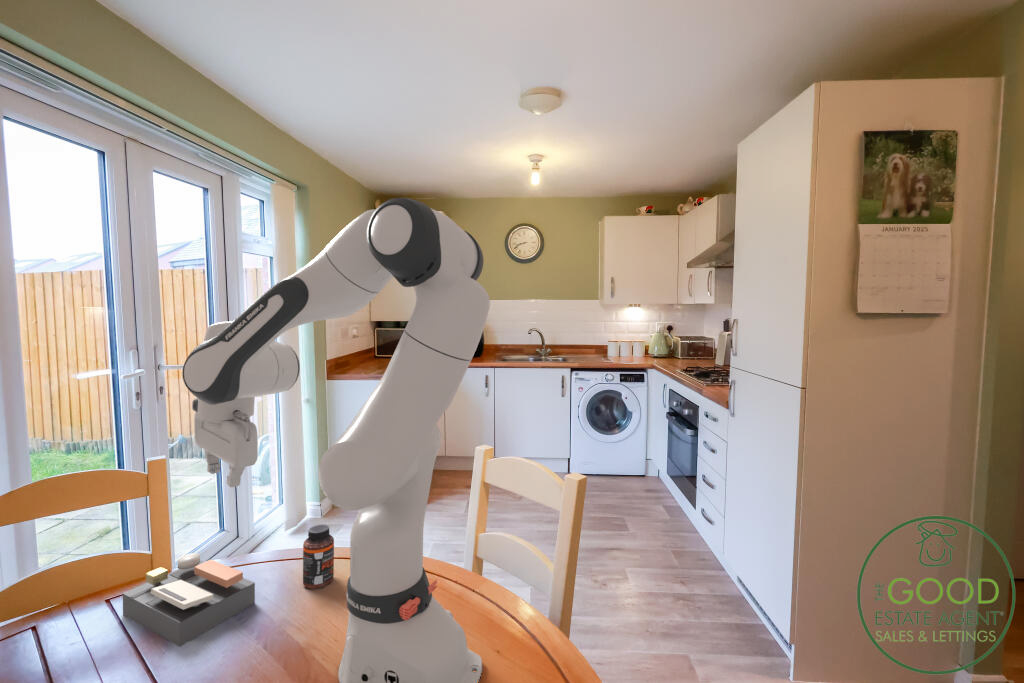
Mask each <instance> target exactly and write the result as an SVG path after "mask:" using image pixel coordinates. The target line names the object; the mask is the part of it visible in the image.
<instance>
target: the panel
mask: <svg viewBox="0 0 1024 683" xmlns="http://www.w3.org/2000/svg"><path fill="white" fill-rule="evenodd" d="M204 562H205V561H203V560H200V563H199V564H202V563H204ZM199 564H198V565H199ZM178 580H183V581H185V582H187V583H189V584H192V585H194V586H196V587H198V588H201V589H203V590H205V591H207V592H209V593H212V594H213V599H212V600H209V601H206V602H203V603H200V606H197V607H193V606H192V607H189V608H186V609H184V610H183V609H181V608H179V607H177V606H175V605H173V604H171V603H169V602H167V601H165V600H163V599H161V598H159V597H157V596H155V595H153V594H151V589H152V588H155V587H159V586H162V585H165V584H168V583H172V582H175V581H178ZM255 588H256V583H255V582H254V581H252V580H250V579H247V578H244V577H243V580H241V581H239V582H237V583H235V584H233V585H231V586H229V587H227V588H226V587H223V586H221V585H219V584H216V583H214V582H212V581H209V580H207V579H205V578H202V577H200V576H198V575H195V574H194V567H193V568H189V569H183V570H182V569H178V568H177V569H176V570H172V571H171V572H168V579H166V580H163V581H161V584H160V585H158V586H154V585H152V584H150V583H148V582H145V583H143V584H141V585H139V586H136V587H134V588H132V589H130V590H128V591H125V592H123V593H122V616H124V617H126V618H127V619H129V620H131V621H133V622H134V623H136V624H139V625H140V626H141V627H143V628H145V629H147V630H149V631H151V632H152V633H154V634H157V635H158V636H160V637H162V638H164V640H165V639H166V640H167V641H169V642H171V643H172V644H174V645H175V646H178V647H182V646H184V645H185V644H186V643H188V642H190V641H192V640H194V639H196V638H197V637H199V636H200V635H203V634H204V633H206V632H207V631H210V630H211V629H212V628H215V627H216V626H218V625H220V624H221V623H224V622H225V621H226V620H228V619H230V618H232V617H233V616H235V615H237V614H239V613H240V612H242V611H244V610H246V609H247V608H249V607H251V606H252V605H254V604H255V603H256V600H255V599H256V592H255V591H256V589H255Z"/></svg>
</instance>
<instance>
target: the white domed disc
mask: <svg viewBox="0 0 1024 683" xmlns="http://www.w3.org/2000/svg"><path fill="white" fill-rule="evenodd" d="M200 561H201V554H200V553H198V552H191V553H187V554H184V555H182V556H180V557H179V558H177V570H178V569H182V570H183V569H189V568H193V567H195V566H197V565H198V564H199V563H200Z"/></svg>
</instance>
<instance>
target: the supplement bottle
mask: <svg viewBox="0 0 1024 683" xmlns="http://www.w3.org/2000/svg"><path fill="white" fill-rule="evenodd" d="M307 534H308V535H307V536H308V537H307V538H306V539H305V540H304V541H303V545H302V546H303V547H302V549H303V550H302V585H303V586H304V587H305V588H307V589H313V590H314V589H320V588H321V589H322V588H324V587H326V586H327V585H329V584H331V583H332V582H333V579H334V574H335V573H334V568H335V565H334V564H335V563H334V562H335V561H334V560H335V556H334V555H335V539H334V537H333V536H332V535H331V534H330V526H329V525H327V524H316V525H313V526H311V527H310V528H309V529H308V533H307Z"/></svg>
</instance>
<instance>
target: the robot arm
mask: <svg viewBox="0 0 1024 683" xmlns="http://www.w3.org/2000/svg"><path fill="white" fill-rule="evenodd" d="M483 268H484V255H483V252H482V249H481V246H480V244H479V242H478V241H477V240H476V238H474V237H473V236H472V234H470V233H469V232H467V231H466V230H465V229H462V227H460V226H459V224H456V222H455V221H454V220H453V219H451V218H450V217H449V216H447V215H445V214H444V213H442V212H440V211H438V210H436V209H433V208H431V207H430V206H429V205H427V204H426V203H424V202H422V201H420V200H416V199H412V198H406V197H394V198H389V199H388V200H386V201H384V202H382V203H381V204H380V205H379V206H378V207H377V208H375V209H374V208H373V209H368V210H366V211H364V212H363V213H362V214H359V215H358V216H357V217H356V218H354V219H353V220H352V221H351V222H349V224H347V225H346V226H344V228H343V229H342V230H340V231H339V232H338V234H337V235H335V237H333V239H331V240H330V242H329V243H328V244H327V245H326V246H325V247H323V250H321V252H320V253H319V254H317V255H316V256H315V257H314V258H313V259H312V260H311V261H310V262H308V263H307V264H306V265H304V266H303V267H302V268H300V269H298V271H296V272H294V273H293V274H291V275H289V276H288V277H286V278H283V279H282V280H281V281H279V282H277V283H275V284H274V285H273V286H271V287H270V288H268V289H267V290H266V291H265V292H263V294H262V295H260V296H259V297H258V298H256V300H254V301H253V302H252V304H250V305H249V306H248V307H247V308H246V309H244V310H243V312H242V313H241V314H239V315H238V316H237V317H236V318H235V319H234V320H233V321H227V320H226V321H218V322H215V323H212V324H210V325H209V326H208V328H207V330H206V332H205V335H204V340H203V342H201V343H199V344H197V346H196V347H195V348H193V350H191V352H190V353H189V354H188V356H187V358H186V359H185V361H184V364H183V366H182V367H183V368H182V380H183V383H184V386H185V387H186V388H187V390H188V391H189V392H190V393H191V394H192V395H193V396H194V397H196V398H194V399H192V401H191V402H192V403H191V409H192V411H193V412H195V413H194V418H193V420H194V421H193V422H194V439H195V443H196V446H198V447H200V448H201V449H203V450H204V455H205V458H206V460H205V461H206V464H207V466H206V468H207V470H206V471H207V472H208V473H209V474H211V475H214V474H219V473H220V472H221V467H222V466H221V464H222V463H220V460H221V461H222V462H224V463H226V464H228V468H229V474H228V475H227V476H226V485H227V486H228V487H229V488H235V487H239V486H240V485H241V480H242V479H241V478H242V475H243V473H244V471H245V468H247V467H251V466H254V465H255V464H256V462H257V461H258V456H259V455H258V454H259V453H258V452H259V451H258V448H259V445H258V443H259V442H258V429H257V426H256V424H255V423H254V422H252V421H251V419H250V418H251V417H252V416H254V414H255V400H256V399H255V398H257V397H261V396H267V395H274V394H279V393H283V392H286V391H289V390H290V389H291V388H293V386H294V385H295V384H296V383H297V381H298V378H299V375H300V372H301V371H300V368H301V364H300V360H299V357H298V355H297V353H296V352H295V350H294V348H292V347H291V345H290V346H289V345H288V344H286V343H280V342H279V341H276V340H277V339H278V338H279V337H280V336H282V335H283V334H285V332H287V331H289V330H291V329H294V328H296V327H298V326H302V325H305V324H309V323H314V322H320V321H325V320H333V319H340V318H345V317H350V316H352V315H354V314H356V313H357V312H359V311H360V310H362V309H363V308H365V307H366V306H367V305H368V304H370V303H371V302H373V300H374V299H375V298H376V297H377V296H378V295H379V293H380V292H381V291H382V290H383V289H384V288H385V287H386V285H387V284H388V283H389V282H390V281H391V280H392V279H393V278H394V279H395V280H396V281H397V282H398V283H399V284H400V285H401V287H405V288H412V287H413V289H414V291H415V292H414V293H415V295H416V297H415V306H414V308H413V311H412V314H411V315H410V318H409V320H408V321H407V324H406V326H405V328H404V330H403V332H402V335H401V337H400V339H399V341H398V343H397V345H396V348H395V349H394V352H393V355H392V356H391V358H390V361H389V363H388V365H387V368H386V370H385V371H384V373H383V375H382V377H381V379H379V381H378V383H377V385H376V386H375V387H374V389H373V390H372V392H371V393H370V394H369V396H368V397H367V399H366V400H365V402H364V403H363V405H362V406H361V407H360V409H359V411H358V412H357V414H356V415H355V417H354V418H353V419H352V420H351V422H350V424H349V425H348V427H347V428H346V429H345V431H344V432H343V433H342V434H341V435H340V436H339V438H338V439H336V441H335V442H334V443H332V444H331V446H330V447H329V448H328V449H326V451H325V452H324V454H323V455H322V457H321V459H320V460H319V461H320V462H319V465H318V480H319V481H318V482H319V485H320V488H321V491H322V492H323V494H324V496H325V497H326V499H327V500H329V502H331V503H332V504H333V505H334V506H336V507H338V508H340V509H343V510H345V511H358V513H357V515H356V518H355V519H354V521H353V523H352V527H351V531H350V538H349V539H350V541H349V542H350V546H349V547H350V548H349V549H350V550H349V551H350V552H349V558H350V560H349V561H350V565H349V566H350V568H349V569H350V570H349V571H350V574H349V577H348V579H347V586H346V590H347V591H345V593H346V594H345V596H346V608H347V610H348V620H347V629H346V635H345V642H344V643H345V644H344V648H343V649H344V650H343V654H342V657H341V661H340V664H339V666H338V667H339V668H338V673H337V676H338V681H339V683H477V682H478V681H479V679H480V676H481V677H482V675H481V673H482V674H483V661H482V657H481V656H480V655H479V654H477V653H476V652H474V651H472V650H471V649H469V648H468V644H467V638H466V637H467V636H466V634H465V630H464V629H463V627H462V626H461V625H460V624H459V623H458V621H456V620H455V619H454V616H453V613H452V612H451V611H450V610H448V609H445V608H444V607H443V606H442V605H441V603H440V602H439V601H438V600H437V599H436V598H435V597H434V596H433V592H434V591H435V590H436V589H437V588H438V585H436V584H438V583H437V582H438V580H437V579H436V580H434V581H433V582H432V583H431V584H430V583H429V579H428V575H427V572H426V570H425V568H424V561H423V560H424V528H425V526H424V525H425V518H426V510H427V506H428V500H429V495H430V491H431V490H430V489H431V484H432V480H433V473H434V472H433V471H434V466H435V462H436V459H437V456H438V453H439V450H440V449H441V448H440V447H441V444H442V436H441V432H440V429H439V426H438V424H437V423H439V420H441V418H442V416H443V415H444V413H445V412H446V411H447V410H448V408H449V407H451V404H452V403H453V402H452V401H453V399H454V398H455V395H456V393H457V391H458V389H459V387H460V385H461V384H462V381H463V378H464V376H465V375H466V373H467V370H468V368H469V366H470V364H471V362H472V360H473V357H474V355H475V352H476V351H477V348H478V345H479V343H480V342H481V341H480V340H481V338H482V335H483V332H484V329H485V325H486V323H487V319H488V315H489V311H490V306H491V300H490V296H489V294H488V292H487V291H486V289H485V287H483V285H482V284H480V282H478V281H477V280H478V279H479V278H480V276H481V274H482V272H483ZM473 671H476V672H473ZM480 680H481V679H480ZM479 682H480V681H479Z"/></svg>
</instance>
